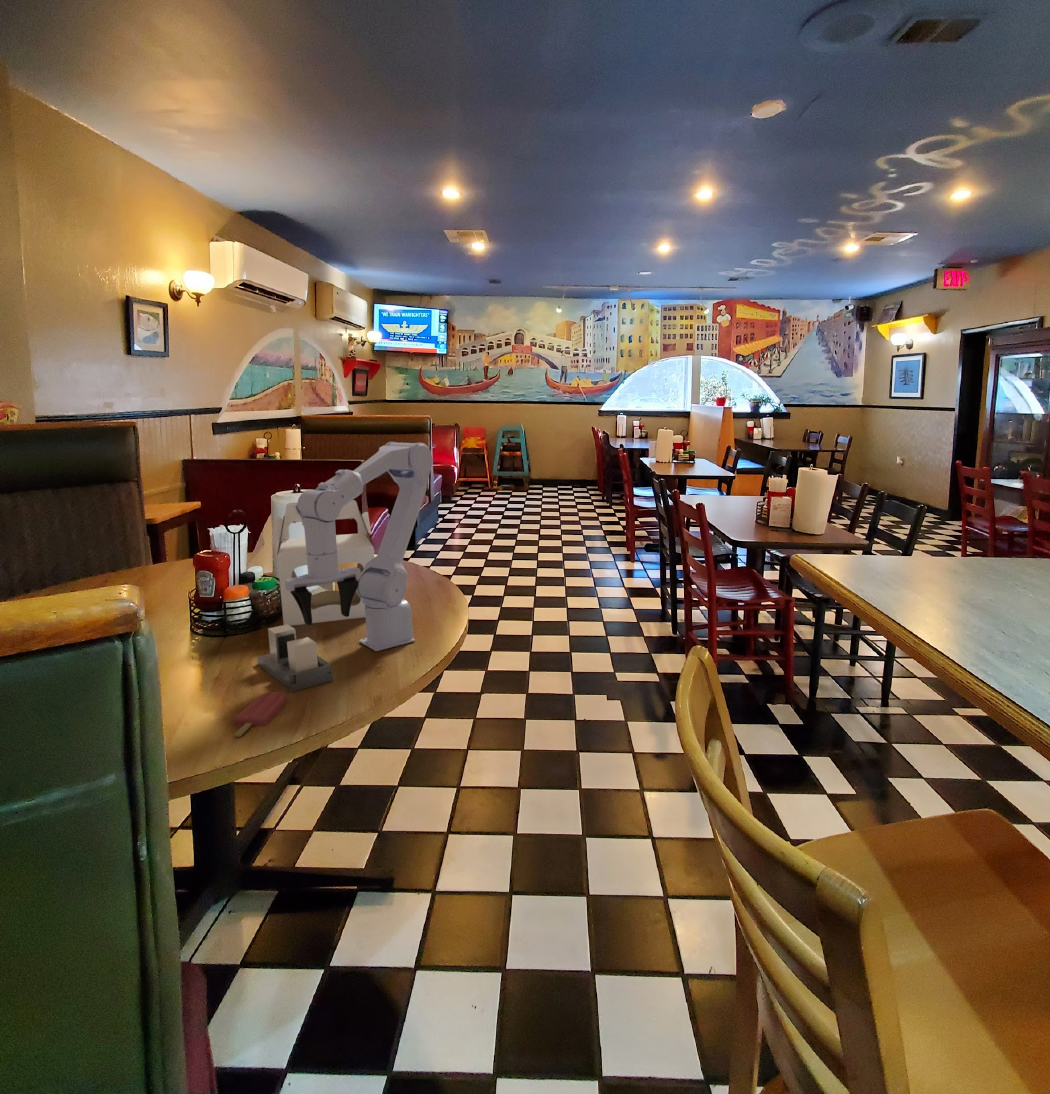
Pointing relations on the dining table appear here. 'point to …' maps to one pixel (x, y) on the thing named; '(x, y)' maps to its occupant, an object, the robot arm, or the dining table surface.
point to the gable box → (294, 556)
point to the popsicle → (259, 711)
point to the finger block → (302, 655)
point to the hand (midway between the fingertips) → (327, 619)
